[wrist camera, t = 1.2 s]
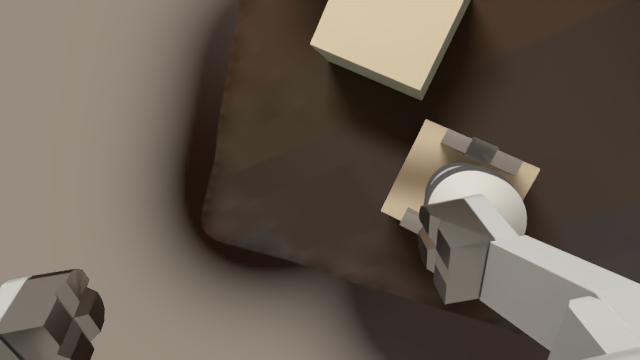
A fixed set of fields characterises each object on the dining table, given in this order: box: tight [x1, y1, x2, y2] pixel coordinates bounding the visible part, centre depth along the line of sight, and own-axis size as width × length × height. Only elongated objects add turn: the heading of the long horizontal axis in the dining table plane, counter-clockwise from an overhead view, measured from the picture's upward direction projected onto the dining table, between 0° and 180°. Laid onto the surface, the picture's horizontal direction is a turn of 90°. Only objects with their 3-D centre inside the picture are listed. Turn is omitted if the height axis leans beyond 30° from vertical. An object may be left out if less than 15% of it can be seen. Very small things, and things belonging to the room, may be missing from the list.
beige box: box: [310, 0, 471, 101], centre depth 38 cm, size 11×11×7 cm
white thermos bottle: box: [424, 162, 527, 236], centre depth 27 cm, size 5×5×15 cm
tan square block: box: [381, 119, 540, 234], centre depth 36 cm, size 9×10×10 cm
